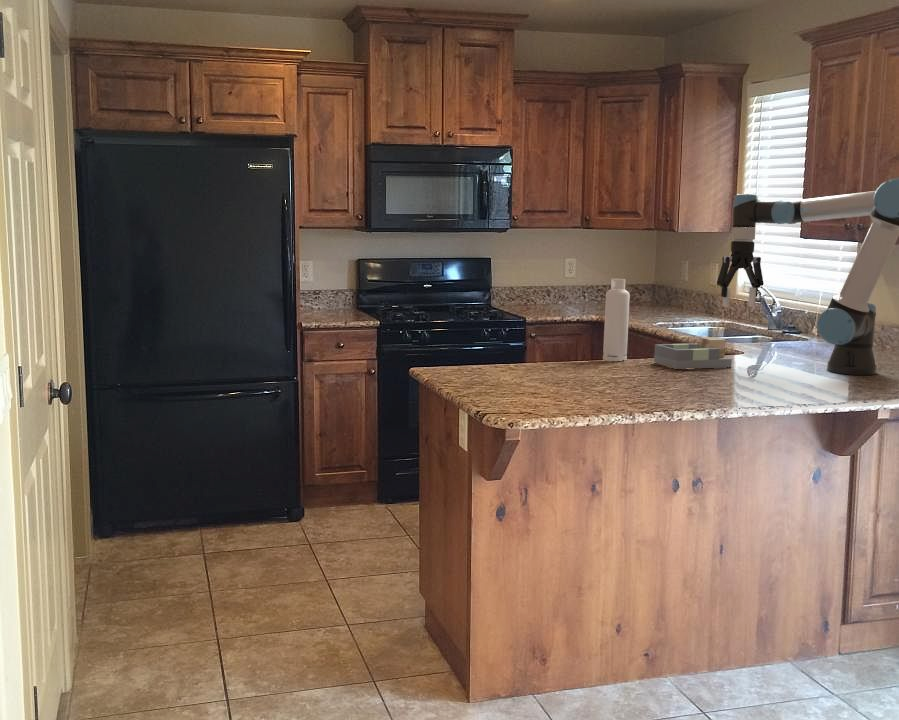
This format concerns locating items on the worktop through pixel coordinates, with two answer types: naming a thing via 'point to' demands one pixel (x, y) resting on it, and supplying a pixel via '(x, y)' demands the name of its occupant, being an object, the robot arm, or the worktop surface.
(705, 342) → the block
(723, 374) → the worktop surface
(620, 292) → the bottle
